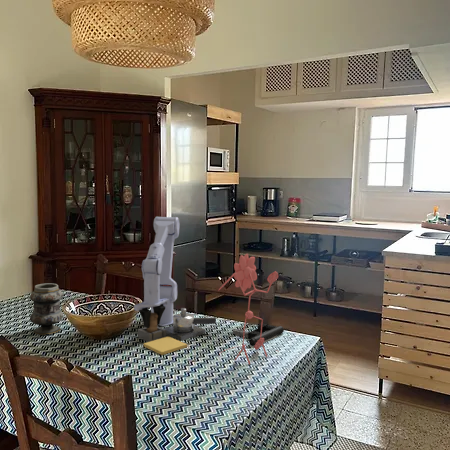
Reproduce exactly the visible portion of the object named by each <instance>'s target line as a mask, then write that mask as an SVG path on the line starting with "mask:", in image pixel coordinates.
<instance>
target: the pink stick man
mask: <svg viewBox="0 0 450 450" xmlns="http://www.w3.org/2000/svg"><path fill="white" fill-rule="evenodd" d="M255 262H256V257H255V256H250V257H249V253H246V254H244V255H242V254H241V255H240V256H239V260H238V263H237V262H235V263H234V265H233V267H234V273H232V275H231V276H230V277H228V279H227V280H225V281H224V283H223V284H221V286H220V287H219V289H218V291H220V290H221V289H222V288H223V287H224V286H225V285H226V284H227V283H228V282H229V281H231V279H232V278H234V280H236V281H235V284H234V286H235V288H240V290H241V291H242V294H243V296H244V297H246V296H248V295H249V297H248V305H247V311H246V312H245V315H244V316H245V319H244V325H243V330H242V331H243V336H242V346H241V349H240V351H239V352H238V354H237V356H236V357H235V358H234V360H233V361H234V362H236V361H237V359H238V358H239V357H240V355H241V353H242V352H243V351H244V355H245V357H246V360H247V363H248V365H251V361H250V359H249V356H248V353H247V350H246V348H245V347H246V344H244V343H245V337H244V332H245V331H246V324H247V320H251V319H253V318H256V319H259V320H261V323H260V324H261V334H262V324H264V323H263V322H264V320H263V318H260V317H259V316H258V317H257V316H255V315H254V312H253V311H251V310H250V305H251V298H252V297H251V296H253V294H255V293H256V292H258V293H259V292H260V293H265V294H268V293H269V291H270V289H271V286H272V285H273V283H274V282H277V280H278V278H279V273H278V271H276V270H275V271H274V272H271V273H270V274H269V275H268V276H267V282H268V283H269V286H268V288H267V290H261V289H257V288H256V285H255V282H254V281H257V279H258V274H257V271H256V270H257V267H256V264H255ZM251 287H253V290H250V291H248V292H246V291H247V289H251ZM245 292H246V293H245ZM261 334H260V339H259V340H258V341H257V342H256V344H255V346H254V349H255V350H256V351H258V350H259V349H260V348H261V347H262V349H263V352H264V355H265V357H268V353H267V350H266V348H265V346H264V338H262V339H261ZM238 347H240V346H237V348H238ZM234 348H236V346H234V347H233V346H232V347H231V348H226V349H223V351H221V352H220V354H221V353H223V352H225V351H226V350H230V349H234ZM275 351H277V352H278V353H280V351H279V350H277V349H276V350H275Z"/></svg>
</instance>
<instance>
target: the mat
mask: <svg viewBox="0 0 450 450" xmlns="http://www.w3.org/2000/svg"><path fill="white" fill-rule="evenodd" d="M143 347H144V348H147V349H149V350H150V351H153V352H155V353H157V354H160V355H161V356H163V355H166V354H170V353H173V352H176V351H178V350H179V351H180V350H182V349H185V348H187V347H188V344H187V343H186V342H182V341H181V340H179V339H176V338H174V337H172V336H169V335H167V336H166V337H164V338H161V339H157V340H154V341H150V342H147V341H146V342H144V343H143Z"/></svg>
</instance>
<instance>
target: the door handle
mask: <svg viewBox="0 0 450 450" xmlns="http://www.w3.org/2000/svg"><path fill="white" fill-rule="evenodd" d="M243 331H244V330H240V329H233V330H232V334H233V335H237V336H239V337H243ZM284 331H285V330H284V327H283V326H281V325H279V326H278V325H277V326H276V325H270V324H266V323H265V324H264V323H262V334H261V323H259V324H257V327H256V329H253V330H251V331H246V330H245V332H244V338H247V339H248V340H249V341H248V343H249V345H250V346H252V347H253V346H255V344H256V342H257V341H258V340H259V339H260V334H261V339H262V338H264V343H267V342H269V341H271V340H274V339H275V338H277V337H278V336H280V335H281V334H284ZM264 343H263V344H264Z"/></svg>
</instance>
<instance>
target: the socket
mask: <svg viewBox="0 0 450 450" xmlns="http://www.w3.org/2000/svg"><path fill="white" fill-rule="evenodd" d="M163 328H164V327H160V326H159V325H157V331H155V332H152V333H149V332H147V328H146V327H145V326H144V327H141V328H138V329H137V338H138V339H141V340H143V341H146V343H147V342H150V341H154V340H157V339H161V338H164V337H167V334H166V330H165V329H163Z"/></svg>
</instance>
